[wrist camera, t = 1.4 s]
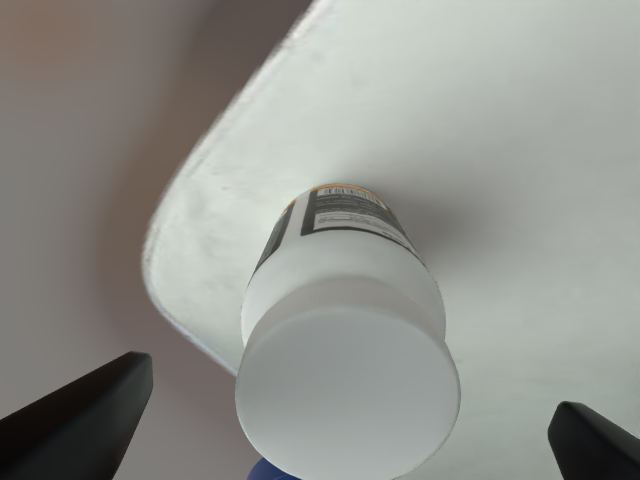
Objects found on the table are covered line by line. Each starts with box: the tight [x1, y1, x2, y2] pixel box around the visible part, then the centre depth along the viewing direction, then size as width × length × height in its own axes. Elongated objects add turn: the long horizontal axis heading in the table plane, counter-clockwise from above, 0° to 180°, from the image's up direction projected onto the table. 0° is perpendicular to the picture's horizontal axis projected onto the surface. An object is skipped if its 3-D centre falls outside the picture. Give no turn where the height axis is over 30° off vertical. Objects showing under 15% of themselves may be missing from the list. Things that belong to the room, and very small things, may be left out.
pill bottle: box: [235, 184, 461, 480], centre depth 12 cm, size 6×6×10 cm
